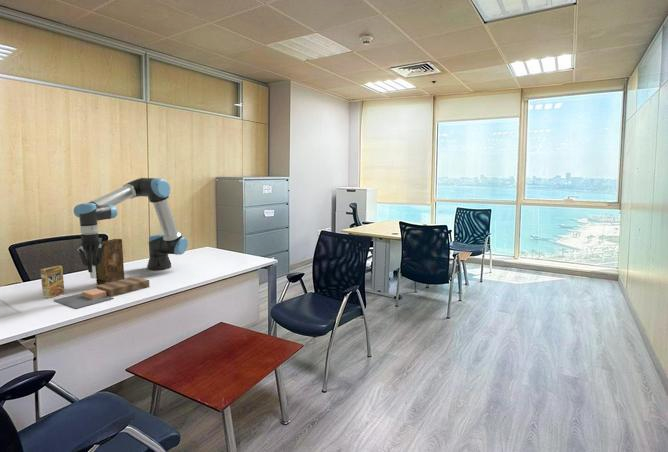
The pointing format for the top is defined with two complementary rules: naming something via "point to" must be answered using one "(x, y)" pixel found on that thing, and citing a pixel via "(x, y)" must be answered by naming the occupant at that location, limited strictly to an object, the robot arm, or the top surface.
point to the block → (94, 294)
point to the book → (110, 262)
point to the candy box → (52, 281)
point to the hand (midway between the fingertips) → (93, 277)
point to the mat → (81, 301)
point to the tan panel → (123, 286)
